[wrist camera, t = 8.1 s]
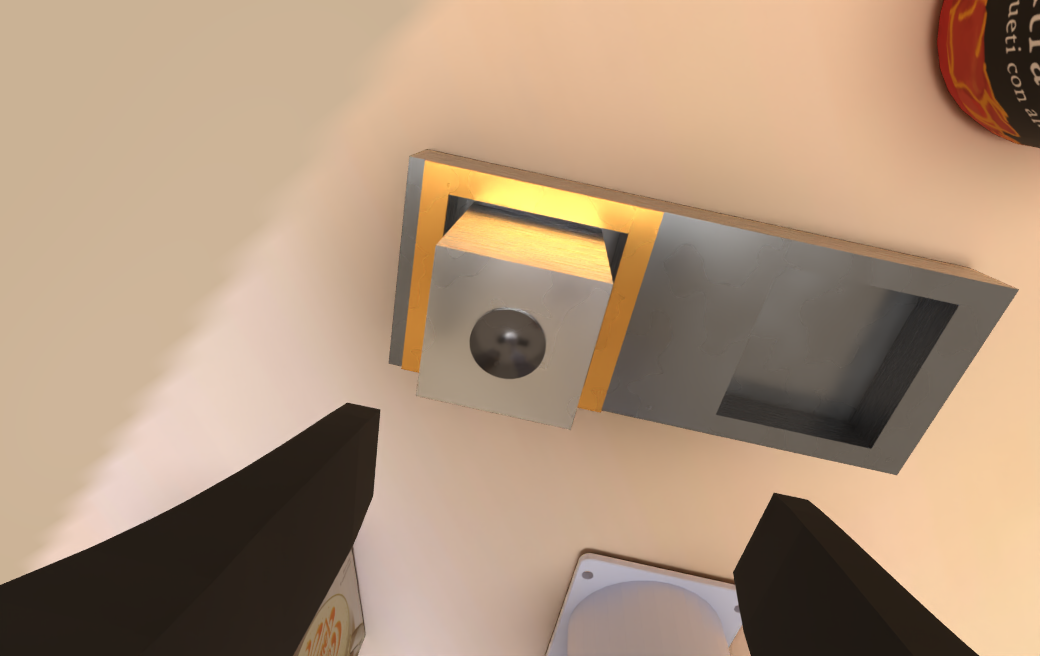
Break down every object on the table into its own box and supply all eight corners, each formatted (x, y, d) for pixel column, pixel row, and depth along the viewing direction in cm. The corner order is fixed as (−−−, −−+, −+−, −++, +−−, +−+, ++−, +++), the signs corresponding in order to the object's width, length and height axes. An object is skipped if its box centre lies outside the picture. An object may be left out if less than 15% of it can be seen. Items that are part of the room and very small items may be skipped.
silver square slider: (571, 330, 18) (570, 431, 13) (461, 306, 19) (414, 398, 13) (600, 221, 17) (613, 285, 11) (480, 195, 17) (434, 246, 11)
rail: (867, 439, 20) (899, 478, 18) (405, 338, 20) (387, 365, 18) (970, 268, 17) (1023, 291, 15) (427, 149, 17) (407, 156, 15)
